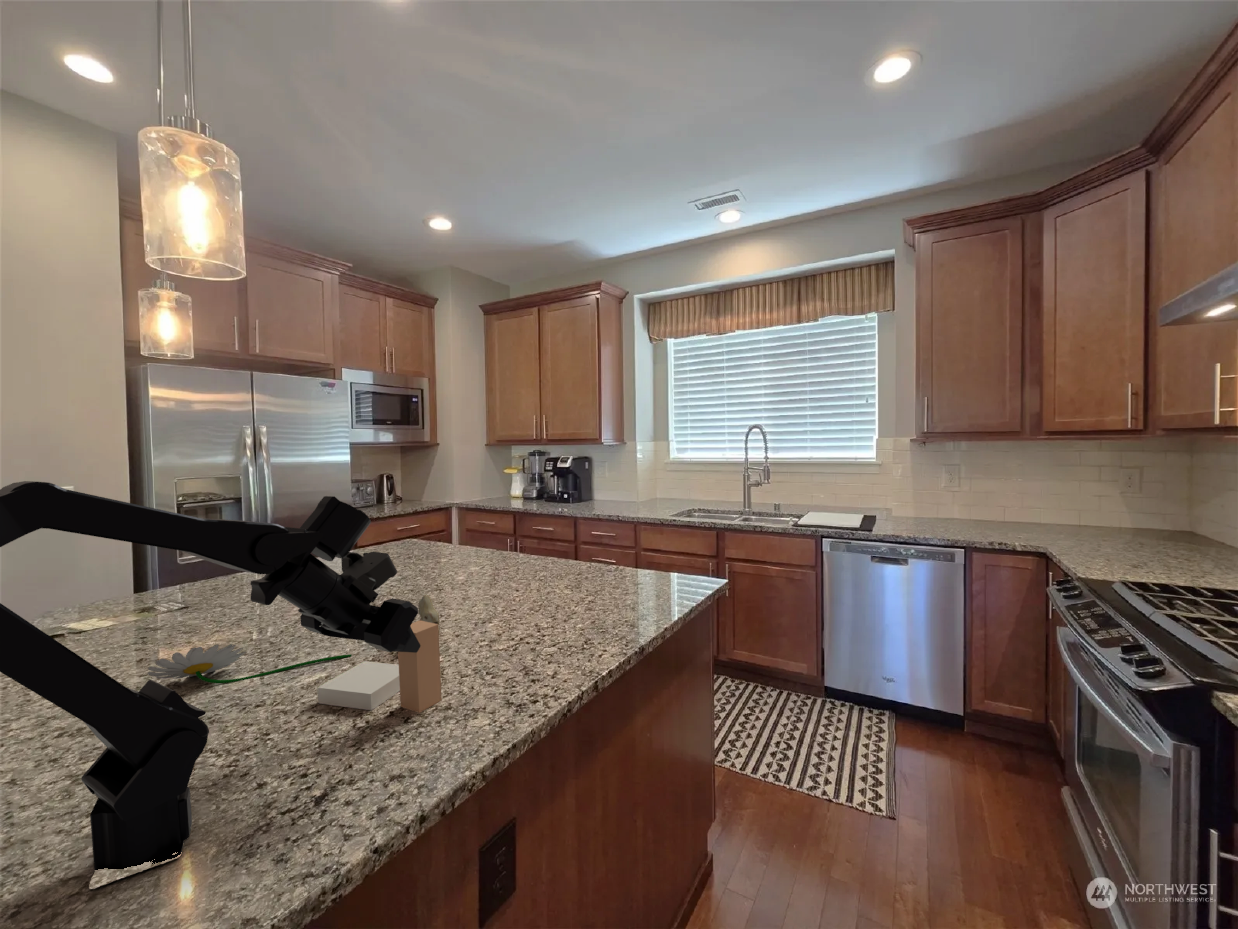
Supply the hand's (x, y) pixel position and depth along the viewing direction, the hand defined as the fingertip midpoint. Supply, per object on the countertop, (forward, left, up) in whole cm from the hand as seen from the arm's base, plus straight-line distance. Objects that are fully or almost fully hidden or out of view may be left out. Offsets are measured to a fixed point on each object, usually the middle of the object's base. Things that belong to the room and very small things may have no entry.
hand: (396, 643), depth 77 cm
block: (+3, +2, -11) cm, 11 cm away
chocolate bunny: (+10, +27, -11) cm, 31 cm away
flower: (-18, +31, -11) cm, 37 cm away
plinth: (-3, +11, -11) cm, 16 cm away
